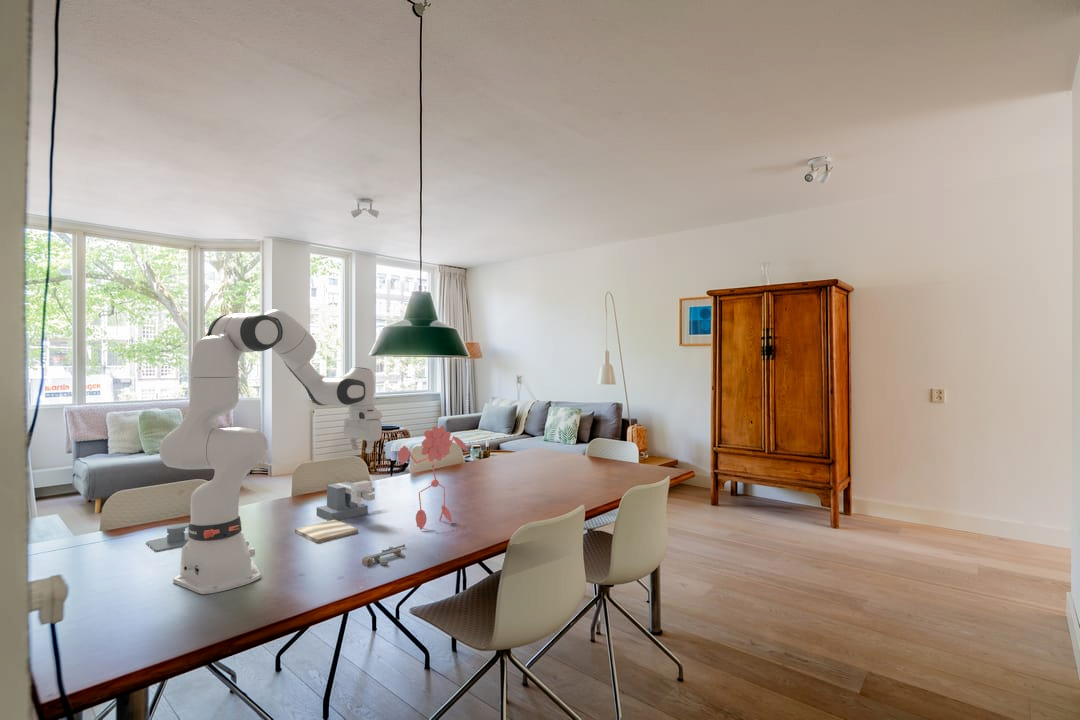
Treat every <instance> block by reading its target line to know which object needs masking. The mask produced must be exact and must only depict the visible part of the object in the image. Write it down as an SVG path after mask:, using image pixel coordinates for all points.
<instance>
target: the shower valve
mask: <svg viewBox="0 0 1080 720" xmlns="http://www.w3.org/2000/svg"><path fill="white" fill-rule="evenodd" d="M189 523H190V522H186V523H181V524H174V525H170V526H168V527H167V528H166V533H167V536H166V537H161V538H156V539H152V540H150V539H149V540H147V541H145V545H147V546H148V547H149V546H150V547H149V548H150V549H151V548H152V549H153V550H154V551H153V550H152V549H151V550H152V551H153V552H156V553H158V552H159V553H161V552H163V551H167V550H173V549H177V547H178V548H182V547H184V546H185V544H186V543H187V542H188V540H189V538H190V537H189V536H188V532H185V531H186V529H188V527H189ZM181 546H182V547H181Z"/></svg>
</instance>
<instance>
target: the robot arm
mask: <svg viewBox="0 0 1080 720" xmlns="http://www.w3.org/2000/svg"><path fill="white" fill-rule="evenodd" d="M270 349H272V350H273V351H274V352H275V353H276V355H278V356H279V357H280V358H281V359H282V360H283V362H284V364H285V367H287V369H288V370H289V371H290V372H291V373H292V375H293V376H294V377H295V378H296V379H297V380H298V381H299V382H300V383H301V384H302V386H303V387H304V388H305V390H306V393H307V395H308V396H309V399H310V401H312V403H314V404H315V405H317V406H348V412H347V414H346V416H345V418H344V421H343V431H342V432H343V435H344V437H347V438H349V441H350V446H351V450H352V451H358V450H359V445H358V443H357V440H361V441H366V447H365V448H364V450H365V454H372V452H373V447H374V444H375V442H378V441H380V440H381V438H382V433H383V432H382V431H383V430H382V427H383V426H382V424H383V423H382V421H381V419H382V418H383V413H382V412H381V411H380V410H378V409H377V408H376V405H375V404H376V403H375V400H374V395H375V391H376V390H375V377H374V373H373V371H372V370H371V369H370V368H367V367H361V366H360V367H359V366H355V367H351V368H350V370H349V371H348V372H347V373H345V374H344V375H341V376H340V377H334V376H332V377H331V376H324V375H322V374H320V373H319V372H318V371H317V370H316V368H315V367H314V366H313V365H312V364H311V363H310V361H311V360H312V359H313V358H314V356H315V354H316V351H317V342H316V341H315V339H314V337H313V336H312V335H311V333H309V331H308V330H307V329H306V328H305V327H304V326H303V325H302V324H301V323H300V322H299V321H297V320H296V319H295V318H293V317H292V316H291V315H289V314H288V313H287V312H285V311H284V310H281V309H271V310H268V311H266V312H264V313H259V312H258V313H257V312H256V313H251V312H249V313H248V312H236V313H227V314H223V315H220V316H218V317H216V318H215V319H213V321H212V322H211V323H210V325H209V328H208V331H207V334H206V335H205V336H204V337H202V338H199V339H198V340H197V341H196V342H195V344H194V347H193V351H192V354H191V355H192V357H191V362H190V389H189V391H190V393H189V394H190V395H189V401H188V402H189V404H188V408H187V411H186V413H185V416H184V417H183V419H182V421H181V422H180V423H179V424H178V425H177V426H176V427H175V428H174V429H173V430H171V431H170V432H168V433H167V434H165V436H164V438H163V439H162V440H161V442H160V445H159V449H158V450H159V451H158V453H159V458H160V460H161V461H162V463H163V464H164V465H165V466H166V467H169V468H173V469H180V470H208V469H209V470H210V469H213V470H214V476H213V477H212V479H211V480H208V481H206V482H204V483H203V484H201V485H199V486H197V487H196V488H195V489H194V490H193V491H192V493H191V496H190V522H188V523H189V527H187V533H188V536H189V537H190V538H189V540H188V542H187V543H186V544H185V546H182V547H181V555H180V556H181V557H180V573H179V574H178V575H176V576H174V577H173V581H172V582H173V584H176V585H178V586H180V587H183V588H185V589H188V590H190V591H192V592H195V593H198V594H201V595H207V594H209V595H210V594H216V593H219V592H224V591H228V590H232V589H235V588H239V587H242V586H245V585H249V584H250V583H252V582H255V581H258V580H259V579H261V578H262V575H261V572H260V570H259V568H258V567H257V565H256V563H255V561H254V560H253V558H254V557H255V556H256V548H254V547H251V548H249V546H250V540H246V538H245V537H244V536H245V534H244V533H243V532H242V530H243V529H242V521H241V516H240V515H239V503H240V494H241V493H240V492H241V488H242V484H243V483H244V480H245V478H246V477H247V475H248V474H249V472H251V471H252V470H253V469H254V468H255V467H256V466H257V465H259V464H260V463H261V462H262V461H263V460H264V459H265V457H266V455H267V453H268V449H269V448H268V447H269V445H268V440H267V437H266V435H265V433H264V432H263V431H261V430H260V429H256V428H249V427H242V426H241V427H240V426H239V427H217V426H216V424H217V420H218V419H219V417H220V416H223V415H225V414H227V413H229V412H231V411H232V410H233V409H235V408H236V407H237V405H238V403H239V359H240V357H241V355H242V354H243V353H253V352H263V351H267V350H270Z"/></svg>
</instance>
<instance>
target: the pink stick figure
mask: <svg viewBox="0 0 1080 720" xmlns="http://www.w3.org/2000/svg"><path fill="white" fill-rule="evenodd" d="M423 435H424V437H425V438H424V440H423V441H421V446H422V449H421V455H422V456H426V455H428V456H427V457H425V458H423V459H420V460H418V461H417V460H416V459H415V458H414V456H413V455H412V453H411V452H410V450H409V448H408V447H406V445H403V446H402V447H400V449H399V450H398V452H397V458H398V461H399V463H400V464H401V465H405V463H406V462H407V461H408V460H409V457H411V459H412V460H413V461H414V463H415V464H419V463H421V462H424V461H426V460H429V462H430V463H431V468H432V472H433V478H434V479H432V480H431V482H430V485H429V486H427V487H425V488H423V489H422V490H420V491H419V492H418V500H419V510H418V511H416V514H415V522H416V527H418V528H419V530H420V531H421V530H423V529H424V527H425V526H426V524H427V520H428V519H427V514H426V512H425V510H423V509H422V502H421V501H422V500H421V493H423V492H424V491H426V490H427V489H429V488H431V487H432V488H437V487H438V486H440V488H443V504H442V505H441V514H440V517H439V522H441V520H442V518H443V515H444V517H445V518H446V519H447V520H448V522H449V521H450V522H451V523H452V522H453V520H452V514H451V512H450V510H449V509H448V507H447V506H446V493H445V492H446V488H445V486H443V485H442V484H440V482H439V480H438V479H437V477H436V473H435V472H436V471H435V466H434V465H435V464H434V461H435V460H436V461H439V462H441V460H442V459H443V458H446V456H448V455H449V454H450V447H451V446H452V445H453V441H454V442H455V443H456V445H458V447H459V448H460V449H462V450H464V451H467V452H469V448H468V447H467V446H466V444H465V442H464V441H462V440H461V439H460V438H459V437H457V436H454V435H453V436H452V438H451V435H452V434H451V432H450V431H446V428H445V426H444V425H440V426H439V427H438V426H433V427H432V429H431V430H430V429H427V430H424V433H423ZM463 527H466V524H464V525H463V526H461V527H459V528H456V529H454V530H449V531H448V533H450V532H455V531H458V530H459V529H462V528H463ZM400 529H401V530H402V529H403V528H402V527H400ZM444 533H447V531H446V532H445V531H444V532H442V534H444ZM437 534H440V532H436V535H437Z"/></svg>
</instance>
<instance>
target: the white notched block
mask: <svg viewBox="0 0 1080 720" xmlns="http://www.w3.org/2000/svg"><path fill="white" fill-rule="evenodd" d="M350 483H351V502H354V503H362V498H361V493H362V492H367V491H368V492H371V493H373V492H372V488H373V481H371V480H367V479H366V480H362V481H361V480H360V481H355V482H350ZM363 500H364V501H367V502H370V501H372V500H366V499H363Z"/></svg>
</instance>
